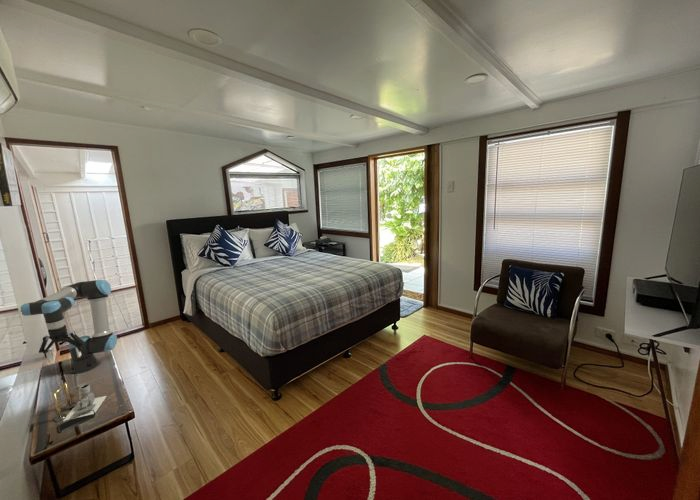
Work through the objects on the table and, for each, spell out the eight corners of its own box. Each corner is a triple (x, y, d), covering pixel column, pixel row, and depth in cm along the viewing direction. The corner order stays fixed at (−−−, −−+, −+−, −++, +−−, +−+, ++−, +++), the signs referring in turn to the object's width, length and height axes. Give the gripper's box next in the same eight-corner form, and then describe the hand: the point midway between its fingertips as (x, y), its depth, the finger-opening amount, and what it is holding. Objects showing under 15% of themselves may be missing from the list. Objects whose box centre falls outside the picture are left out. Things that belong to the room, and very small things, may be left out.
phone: (95, 415, 162) (59, 432, 150) (96, 417, 162) (59, 434, 151) (93, 409, 167) (57, 425, 155) (93, 410, 167) (58, 426, 155)
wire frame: (68, 404, 172) (62, 381, 169) (78, 402, 174) (72, 379, 170) (52, 422, 158) (45, 397, 155) (63, 420, 160) (57, 395, 156)
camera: (95, 380, 174) (89, 394, 162) (99, 396, 177) (93, 412, 164) (76, 385, 170) (69, 401, 157) (80, 402, 172) (73, 418, 160)
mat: (78, 402, 173) (78, 401, 173) (106, 396, 178) (106, 395, 178) (63, 421, 158) (62, 420, 158) (93, 414, 163) (93, 413, 163)
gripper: (23, 334, 157) (34, 367, 162) (80, 325, 166) (88, 357, 171) (32, 328, 164) (42, 360, 169) (86, 320, 173) (94, 350, 177)
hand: (65, 358), depth 170 cm, fingers open, 13 cm apart
